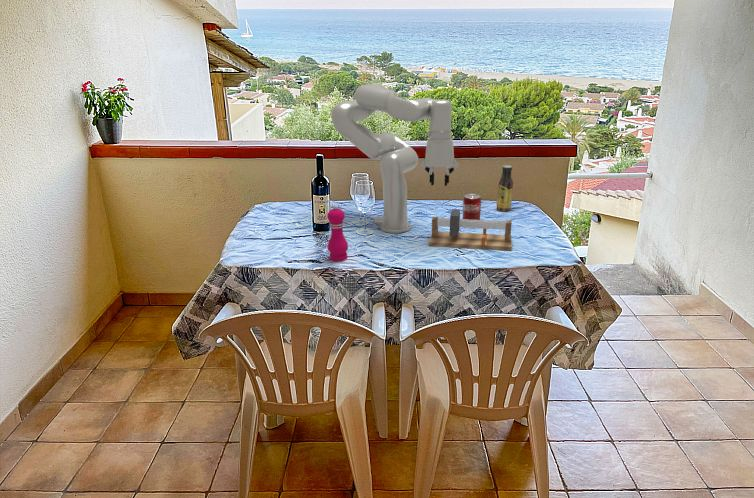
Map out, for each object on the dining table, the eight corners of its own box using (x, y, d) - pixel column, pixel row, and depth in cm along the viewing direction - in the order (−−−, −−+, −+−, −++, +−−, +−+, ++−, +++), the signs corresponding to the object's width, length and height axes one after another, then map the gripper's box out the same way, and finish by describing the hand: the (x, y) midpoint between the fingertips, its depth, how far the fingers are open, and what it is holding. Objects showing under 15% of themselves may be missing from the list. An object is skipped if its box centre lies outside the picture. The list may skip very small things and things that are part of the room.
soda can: (479, 227, 211) (481, 199, 207) (461, 226, 213) (462, 198, 208) (480, 221, 218) (481, 193, 213) (462, 220, 219) (463, 193, 215)
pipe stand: (428, 245, 194) (428, 223, 190) (432, 234, 205) (433, 212, 201) (511, 250, 187) (513, 227, 184) (511, 239, 198) (512, 216, 195)
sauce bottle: (493, 208, 233) (496, 165, 226) (506, 207, 235) (509, 163, 227) (501, 212, 227) (504, 168, 220) (513, 211, 229) (517, 166, 222)
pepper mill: (348, 254, 189) (346, 201, 181) (348, 261, 182) (345, 207, 174) (328, 254, 188) (325, 202, 181) (327, 262, 182) (324, 208, 174)
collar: (449, 236, 193) (450, 215, 190) (451, 229, 200) (452, 209, 197) (457, 236, 192) (458, 216, 189) (459, 229, 199) (460, 209, 196)
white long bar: (437, 226, 195) (437, 220, 194) (437, 223, 197) (438, 217, 196) (505, 229, 190) (505, 223, 189) (505, 227, 192) (505, 221, 191)
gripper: (415, 137, 185) (415, 186, 192) (463, 137, 181) (461, 188, 188) (418, 133, 192) (418, 181, 199) (464, 133, 188) (462, 183, 195)
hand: (439, 184), depth 193 cm, fingers open, 4 cm apart
